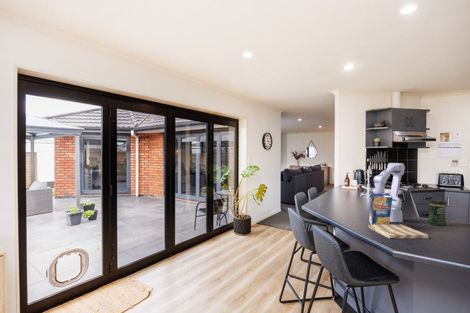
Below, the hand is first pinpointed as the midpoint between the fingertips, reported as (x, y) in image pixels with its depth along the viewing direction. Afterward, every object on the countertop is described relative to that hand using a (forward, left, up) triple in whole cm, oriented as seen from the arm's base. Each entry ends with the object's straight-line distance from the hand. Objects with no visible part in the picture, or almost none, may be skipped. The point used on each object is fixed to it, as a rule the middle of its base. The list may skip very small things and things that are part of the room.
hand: (379, 211), depth 172 cm
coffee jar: (-43, 0, -10) cm, 44 cm away
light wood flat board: (0, +17, -9) cm, 20 cm away
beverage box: (0, 0, -9) cm, 9 cm away
